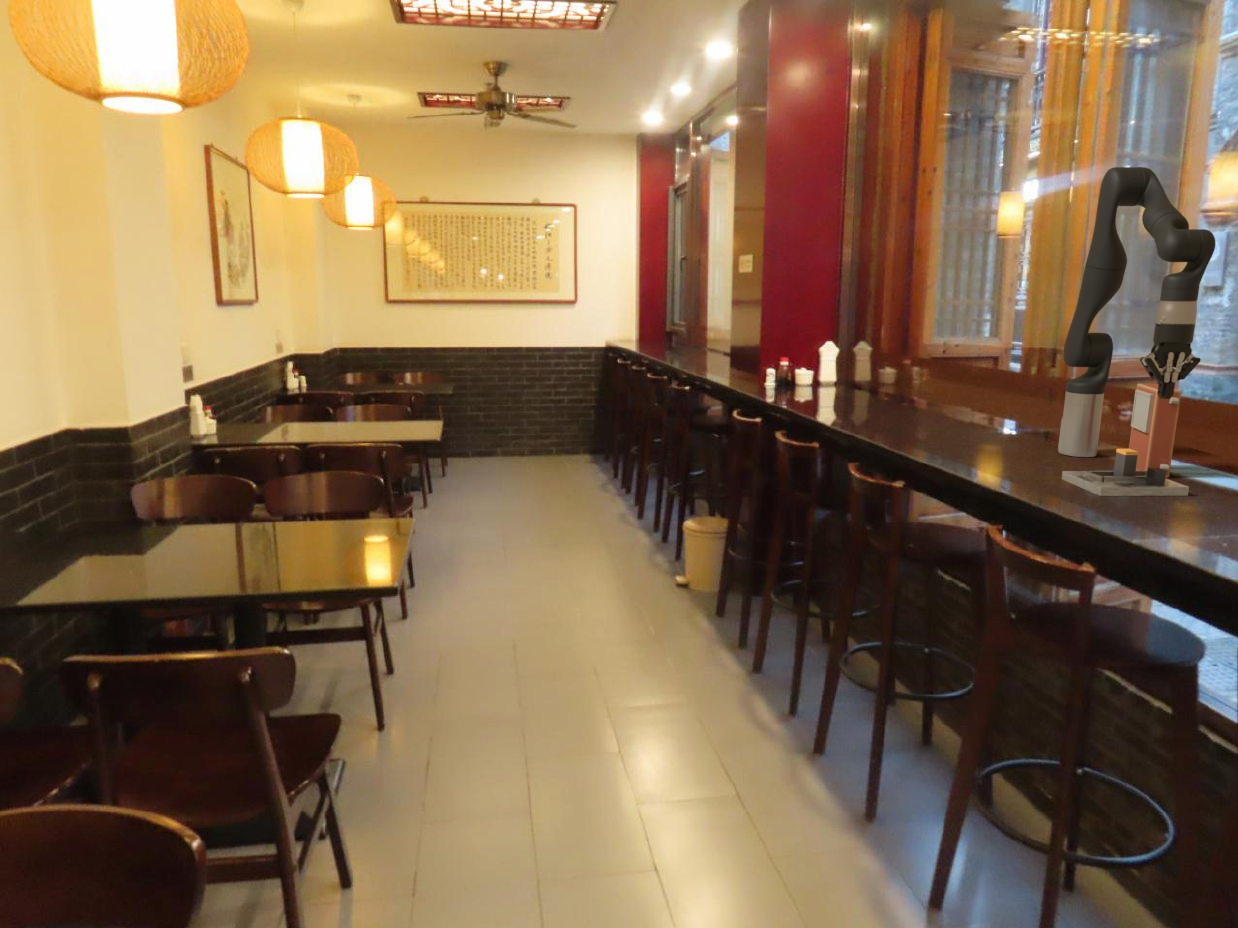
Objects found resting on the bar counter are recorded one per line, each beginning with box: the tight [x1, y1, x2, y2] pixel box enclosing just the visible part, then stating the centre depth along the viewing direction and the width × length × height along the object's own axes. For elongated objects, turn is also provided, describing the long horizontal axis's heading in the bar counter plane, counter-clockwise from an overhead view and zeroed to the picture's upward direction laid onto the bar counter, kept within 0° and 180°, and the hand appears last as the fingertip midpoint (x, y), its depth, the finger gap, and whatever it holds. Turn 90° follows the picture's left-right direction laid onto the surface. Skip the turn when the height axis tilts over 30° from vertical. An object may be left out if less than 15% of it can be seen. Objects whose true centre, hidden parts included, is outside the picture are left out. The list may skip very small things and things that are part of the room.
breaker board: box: [1061, 468, 1190, 497], centre depth 197 cm, size 16×20×6 cm
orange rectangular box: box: [1128, 383, 1182, 478], centre depth 211 cm, size 21×7×15 cm
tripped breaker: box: [1113, 448, 1138, 476], centre depth 196 cm, size 4×3×6 cm
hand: (1164, 398), depth 193 cm, fingers closed
